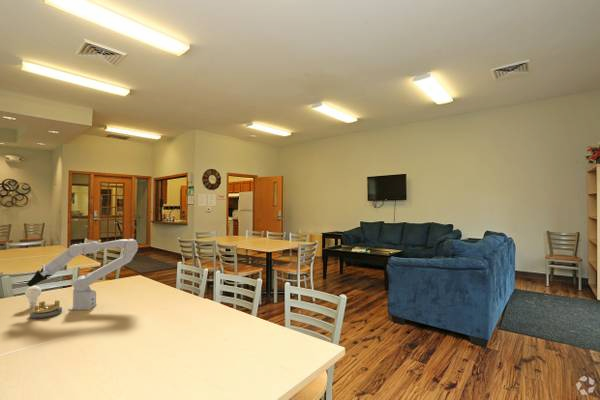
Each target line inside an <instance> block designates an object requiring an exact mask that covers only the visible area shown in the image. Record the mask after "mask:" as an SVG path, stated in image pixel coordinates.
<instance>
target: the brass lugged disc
mask: <svg viewBox="0 0 600 400" xmlns="http://www.w3.org/2000/svg"><path fill="white" fill-rule="evenodd" d="M60 307H61V305H60V300H58V299H55V300H54V303H50V304H49V303H48V304H46V301H44V300H42V301H38V305H37V304H36V305H35V306H33V308H32V311H33V313H35V314H42V313H48V312H53V311H56V310H58V309H59V308H60Z"/></svg>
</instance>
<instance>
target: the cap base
mask: <svg viewBox="0 0 600 400" xmlns="http://www.w3.org/2000/svg"><path fill="white" fill-rule="evenodd" d="M62 313H63V307H62V306H60V308H59V309H58V310H56V311H53V312H48V313H42V314H35V313H33V310H31V311H30V312H29V319H31V320H42V319H43V320H44V319H48V318H53V317H56V316H60V315H61V314H62Z"/></svg>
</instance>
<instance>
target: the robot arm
mask: <svg viewBox="0 0 600 400" xmlns="http://www.w3.org/2000/svg"><path fill="white" fill-rule="evenodd" d="M110 248H119V249H121V250H123V249H124V250H123V254H122V255H121V256H120V257H117V258H116V259H114V260H112V261H111V262H108V263H107V264H105V265H103V266H101V267H100V268H98V269H95V270H94V271H91V272H89V273H87V274H84V275H83V274H82V275H79V276H77V278H76V279H75V282H74V283H73V289H72V307H69V308H68V311H70V310H72V311H73V310H74V311H75V310H77V311H78V310H80V311H81V310H82V311H84V310H85V311H86V310H87V311H88V310H89V309H91V308H93V307H95V306H97V305H98V304H97V291H96V290H94V289H91V287H90V286H91V285H93V284H94V283H95V282H96V281H99V280H100V279H101V278H104V277H105V276H107V275H109V274H111V273H112V272H114V271H116V270H118V269H119V268H121V267H124V266H125V265H127V264H128V263H130V262H132V260H133V259H134V257H135V255H136V253H137V252H138V249H139V243H138V242H137V240H136V239H134V238H128V239H127V238H125V239H124V238H122V239H116V240H111V241H104V242H98V241H96V240H95V241H94V240H90V242H83V243H82V242H79V243H75V244H74V243H73V244H72V245H69V247H68V249H65V250H64V251H63V252H61V253H60V254H58V255H57V256H55V257H54V258H53V259H52V260H51V261H49V262H48V263H47V264H43V263H42V264H41V265H40V266H41V267H42V268H41V269H38V270H37V271H36V272H35V274H34V275H33V277H32V278H31V279H30V280H29V281H28V282H27V283H26V285H27V286H28V287H31V286H36V285H37V284H38V283H40V282H43V281H46V280H48V278H49V277H52V276H54V275H55V274H56V273H57V272H58V271H60V270H61V269H63V268H64V267H65V266H66V265H67V264H69V263H70V262H71V261H72V260H73V259H75V258H77V257H79V256H80V255H88V254H93V253H98V252H99V251H100V250H105V249H110Z"/></svg>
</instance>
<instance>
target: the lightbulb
mask: <svg viewBox="0 0 600 400" xmlns="http://www.w3.org/2000/svg"><path fill="white" fill-rule="evenodd" d="M41 294H42V289H41V287H40V286H38V285H33V286H31V287H30V286H28V288H26V289H25V292H24V295H25V297H26V298H27V301H28V303H29V308H32V309H33V306H35V305H37V301H38V298H39V297H40V295H41Z"/></svg>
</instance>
